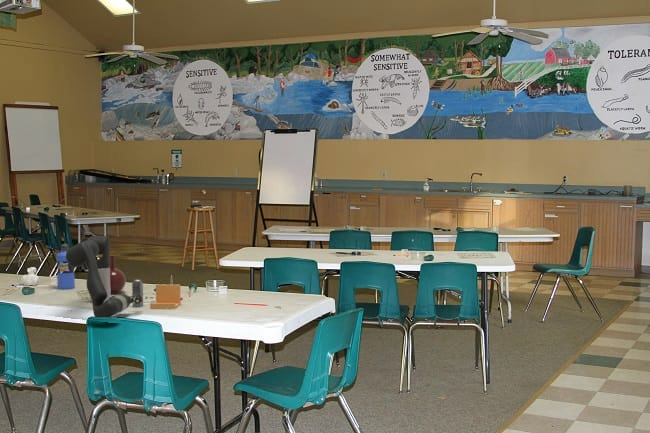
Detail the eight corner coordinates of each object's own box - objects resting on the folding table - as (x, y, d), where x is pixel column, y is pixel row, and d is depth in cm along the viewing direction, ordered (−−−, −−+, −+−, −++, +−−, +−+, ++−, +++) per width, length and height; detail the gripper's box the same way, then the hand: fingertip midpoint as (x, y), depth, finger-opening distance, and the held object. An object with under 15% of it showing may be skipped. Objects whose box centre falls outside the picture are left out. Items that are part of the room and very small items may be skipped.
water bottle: (60, 286, 456) (59, 242, 454) (77, 286, 456) (75, 242, 454) (55, 289, 447) (53, 244, 445) (72, 289, 447) (70, 244, 445)
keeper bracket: (150, 308, 391) (149, 288, 390) (157, 304, 402) (156, 284, 401) (174, 309, 390) (174, 288, 389) (180, 304, 401) (180, 284, 400)
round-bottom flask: (129, 291, 440) (128, 254, 439) (120, 295, 427) (119, 258, 426) (106, 290, 442) (105, 254, 440) (96, 295, 429) (95, 257, 428)
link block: (132, 307, 396) (132, 280, 395) (135, 305, 400) (134, 279, 399) (140, 307, 396) (140, 280, 394) (143, 305, 400) (142, 279, 398)
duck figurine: (39, 289, 461) (47, 272, 467) (31, 283, 456) (39, 265, 461) (23, 288, 466) (31, 271, 472) (15, 281, 460) (23, 264, 466)
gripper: (133, 295, 370) (144, 289, 386) (103, 295, 371) (115, 289, 387) (134, 311, 370) (145, 304, 386) (104, 311, 371) (116, 304, 388)
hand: (130, 296), depth 387 cm, fingers open, 8 cm apart
